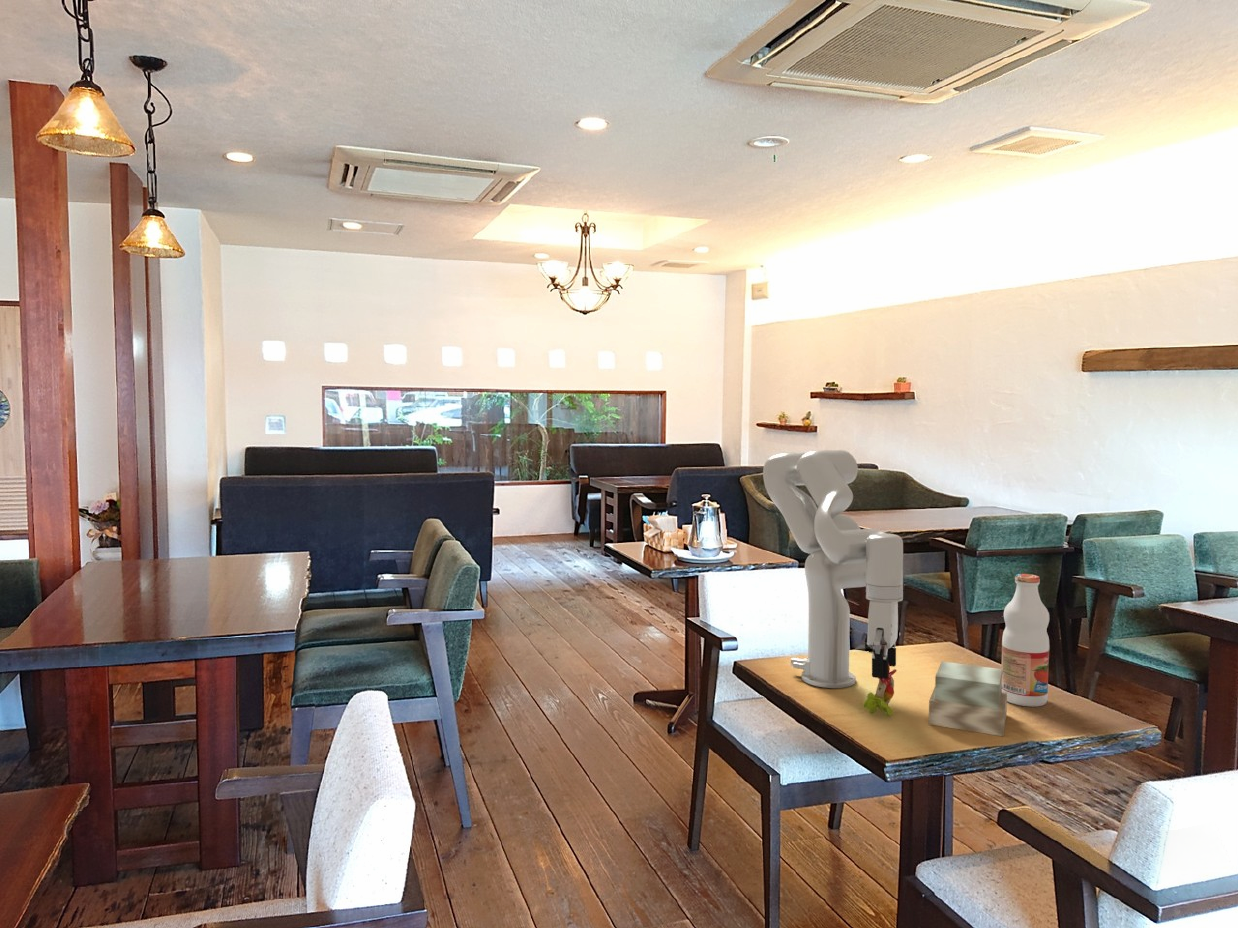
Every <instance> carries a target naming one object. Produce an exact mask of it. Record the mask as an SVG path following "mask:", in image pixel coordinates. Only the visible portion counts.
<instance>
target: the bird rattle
mask: <svg viewBox="0 0 1238 928" xmlns="http://www.w3.org/2000/svg"><path fill="white" fill-rule="evenodd" d="M890 667H891V666H889V663H888V678H887V679H883V678H877V679H878V685H877V687H876V690H875V694H874V693H872V692H869V693H868V694H867V696H866V699H865V700H864V701H863V702H862V704H861V706H862V707H863V708H864V709H866V710H868V711H869V713H870V714H874V713H875V712H876V711H877V710H878V708H879V709H880V711H882V712H883V713H885V714H886V715H888V716H892V715H893V714H894V710H893V709H892V708H891V706H889V704H890V702H891V699H893V697H894V694H895V689H894V688H895V681H894V678H893V675H894V674H895V673H896V672H897V669H896V668H895V669H892V670H891V669H890ZM890 670H891V671H890Z"/></svg>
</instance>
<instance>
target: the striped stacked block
mask: <svg viewBox="0 0 1238 928" xmlns="http://www.w3.org/2000/svg"><path fill="white" fill-rule="evenodd" d="M934 677H935V679H934V680H935V684H934V688H933V690H932V693H931V695H930V697H929V700H928V725H930V726H931V725H932V726H935V727H943V728H950V729H956V730H960V731H969V732H974V733H979V734H980V733H981V734H985V735H987V734H988V735H993V736H1001V737H1004V736H1005V735H1004V733H1005V728H1006V721H1007V720H1006V719H1007V706H1008V705H1007V704H1008V702H1007V692H1006V691H1002V669H1001V668H996V667H988V666H980V665H972V664H963V663H957V662H956V663H955V662H950V661H941V662H940V664H939V667H938V669H937V672H936V674H935V676H934Z"/></svg>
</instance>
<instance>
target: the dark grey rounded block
mask: <svg viewBox="0 0 1238 928" xmlns="http://www.w3.org/2000/svg"><path fill="white" fill-rule="evenodd" d="M867 636H868V633H866V635H865V638H864V644H859V645H858V646H857V647H855V648H854V650H855V651H862V652H867V651H869V652H868V653H873V647H874V644H873V645H872V646H871V647H869V646H868V645H867Z"/></svg>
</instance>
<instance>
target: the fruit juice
mask: <svg viewBox="0 0 1238 928" xmlns="http://www.w3.org/2000/svg"><path fill="white" fill-rule="evenodd" d="M1014 582H1015V584H1016V587H1015V592H1014V594H1013V597H1012V599H1011V601H1009V602H1008V603H1007V604H1006V605H1005V607H1004V610H1003V620H1004V623H1005V627H1004V629H1003V632H1002V640H1001V668H1000V669H1002V691H1006V692H1007V703H1010V704H1013V705H1017V706H1022V707H1036V708H1037V707H1042V706H1045V705H1047V702H1048V695H1049V689H1048V688H1049V687H1048V686H1049V666H1050V665H1049V664H1050V663H1049V659H1050V639H1049V638H1050V637H1049V635H1048V632H1047V628H1048V627H1049V622H1050V612H1049V611H1048V608H1047V607H1046V606H1045V604H1044V603H1043V602H1042V600H1041V597H1040V593H1039V585H1040V583H1041V578H1040V576H1038V575H1036V574H1030V573H1029V574H1028V573H1017V574H1016V575H1015V576H1014Z"/></svg>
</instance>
